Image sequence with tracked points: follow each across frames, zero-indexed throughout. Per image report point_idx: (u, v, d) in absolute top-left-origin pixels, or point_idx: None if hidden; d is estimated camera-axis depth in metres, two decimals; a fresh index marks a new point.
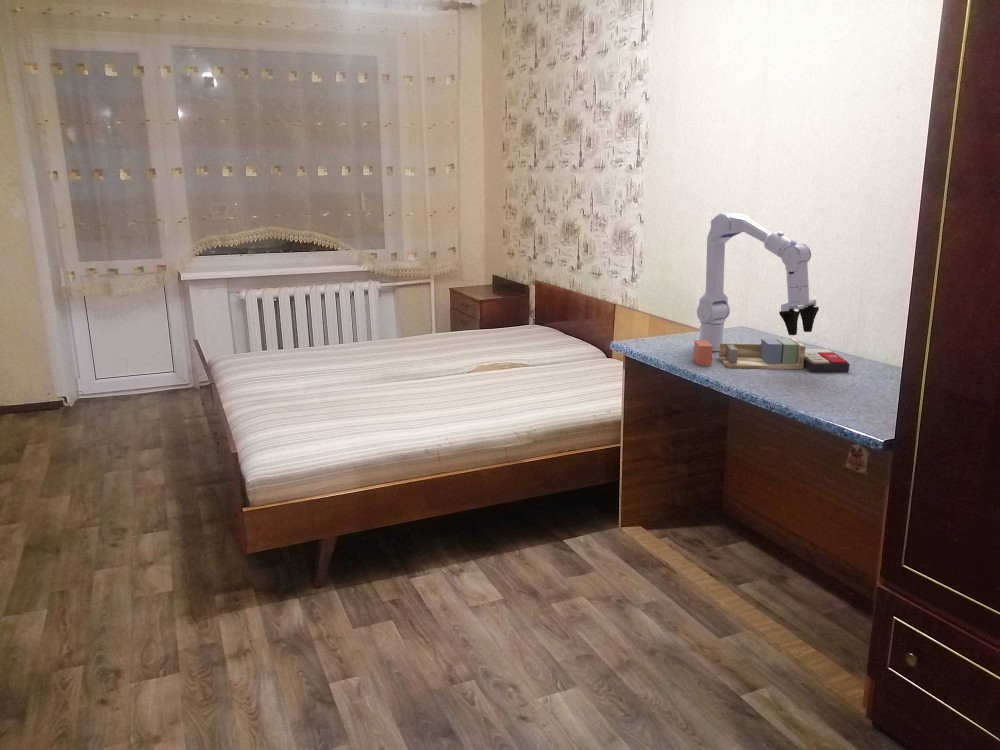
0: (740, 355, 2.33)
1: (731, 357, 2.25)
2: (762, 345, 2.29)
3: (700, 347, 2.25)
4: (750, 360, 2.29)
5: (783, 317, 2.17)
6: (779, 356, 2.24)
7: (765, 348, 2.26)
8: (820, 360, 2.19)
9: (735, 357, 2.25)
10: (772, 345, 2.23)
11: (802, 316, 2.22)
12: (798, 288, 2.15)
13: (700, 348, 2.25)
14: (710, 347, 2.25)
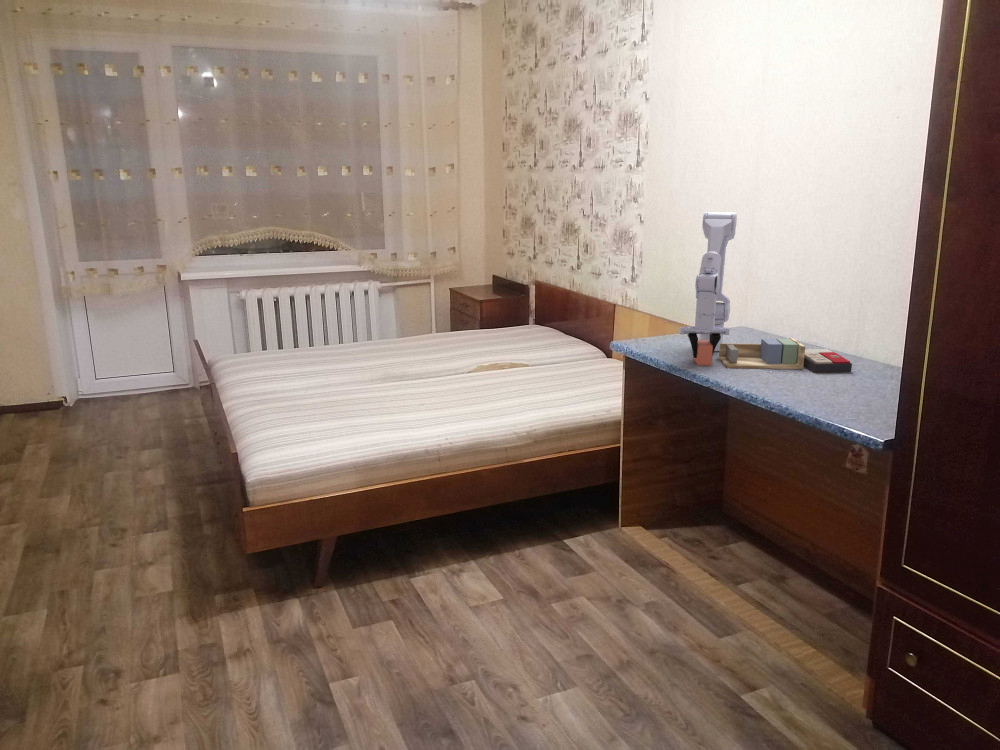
0: (740, 355, 2.33)
1: (731, 357, 2.25)
2: (762, 345, 2.29)
3: (700, 347, 2.25)
4: (750, 360, 2.29)
5: (689, 339, 2.30)
6: (779, 356, 2.24)
7: (765, 348, 2.26)
8: (823, 360, 2.18)
9: (735, 357, 2.25)
10: (772, 345, 2.23)
11: (709, 341, 2.30)
12: (698, 315, 2.25)
13: (700, 348, 2.25)
14: (710, 347, 2.25)
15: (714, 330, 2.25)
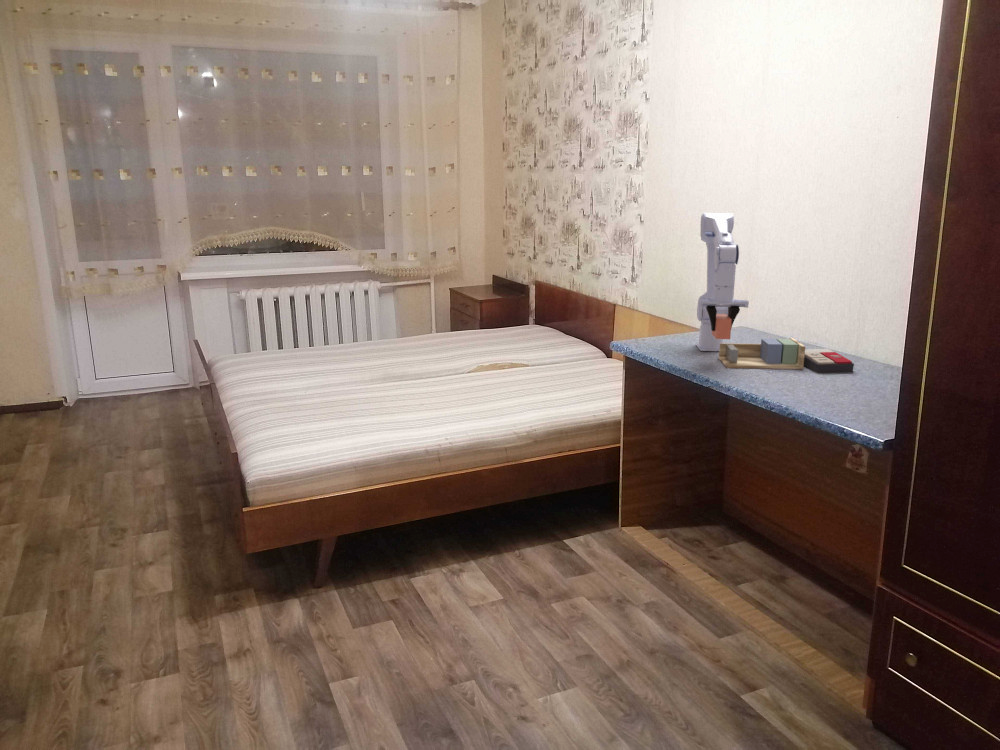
0: (740, 355, 2.33)
1: (731, 357, 2.25)
2: (762, 345, 2.29)
3: (719, 320, 2.22)
4: (750, 360, 2.29)
5: (707, 312, 2.28)
6: (779, 356, 2.24)
7: (765, 348, 2.26)
8: (825, 360, 2.18)
9: (735, 357, 2.25)
10: (772, 345, 2.23)
11: (728, 314, 2.27)
12: (717, 287, 2.22)
13: (719, 321, 2.22)
14: (729, 320, 2.22)
15: (733, 302, 2.23)
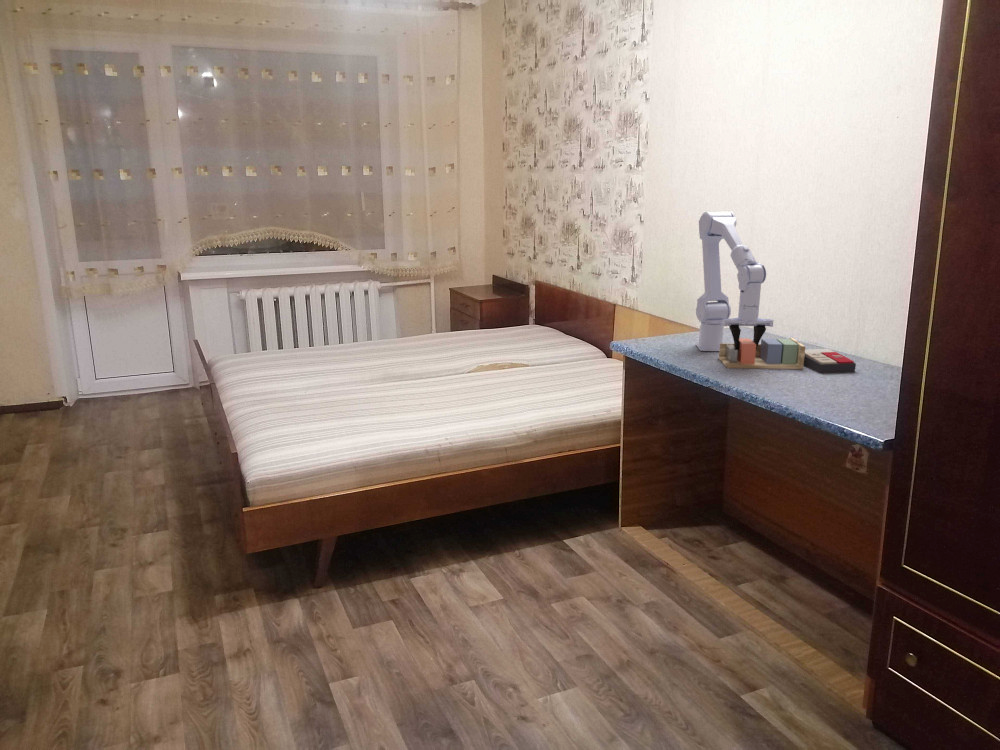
0: None
1: (731, 357, 2.25)
2: (762, 345, 2.29)
3: (743, 345, 2.23)
4: None
5: (731, 331, 2.28)
6: (779, 356, 2.24)
7: (765, 348, 2.26)
8: (827, 360, 2.18)
9: (735, 357, 2.25)
10: (772, 345, 2.23)
11: (754, 333, 2.28)
12: (742, 307, 2.23)
13: (743, 346, 2.24)
14: (754, 345, 2.23)
15: (758, 322, 2.23)
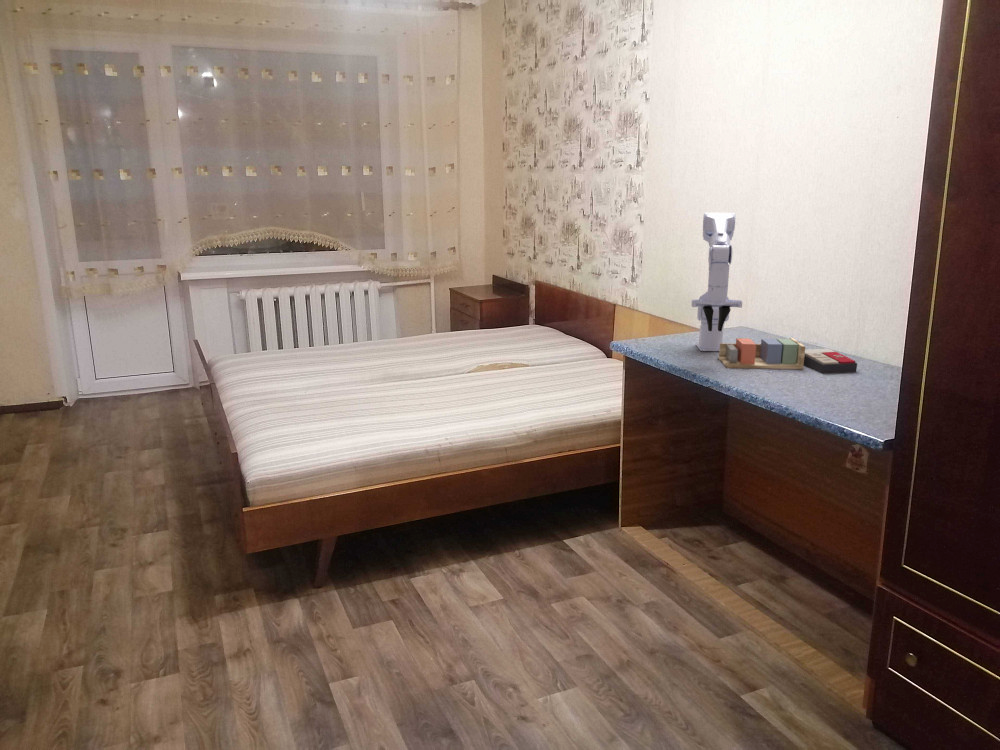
0: None
1: (731, 357, 2.25)
2: (762, 345, 2.29)
3: (743, 345, 2.23)
4: None
5: (704, 312, 2.27)
6: (779, 356, 2.24)
7: (765, 348, 2.26)
8: (829, 360, 2.18)
9: (735, 357, 2.25)
10: (772, 345, 2.23)
11: (719, 314, 2.27)
12: (711, 287, 2.22)
13: (743, 346, 2.24)
14: (754, 345, 2.23)
15: (727, 302, 2.22)
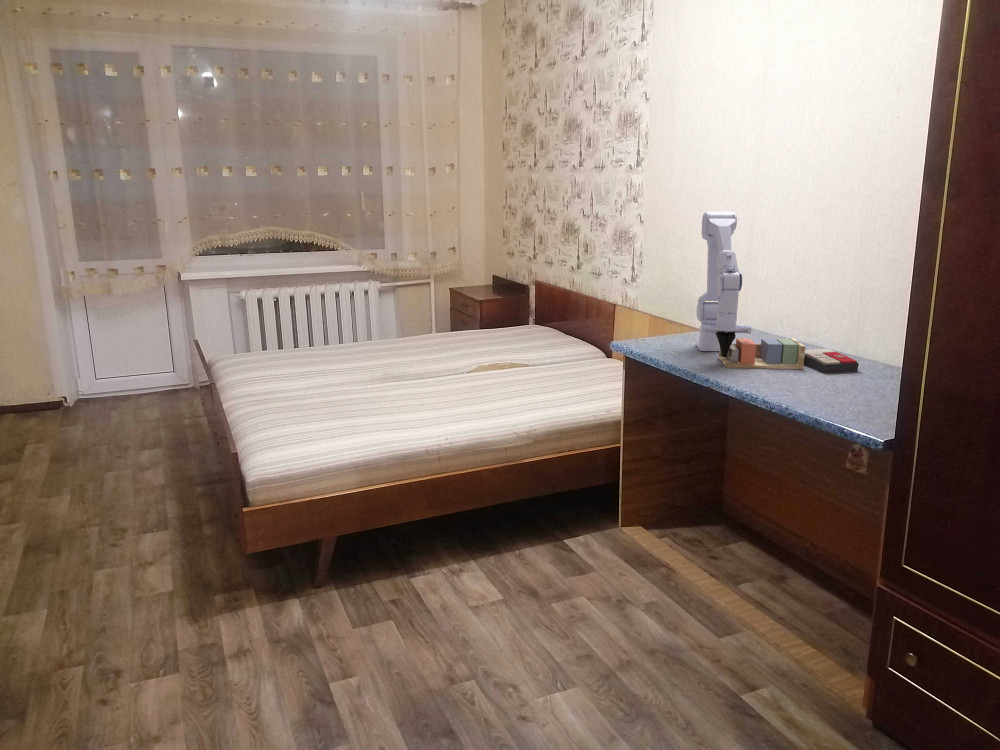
0: None
1: (732, 357, 2.25)
2: (762, 345, 2.29)
3: (743, 345, 2.23)
4: None
5: (717, 337, 2.29)
6: (779, 356, 2.24)
7: (765, 348, 2.26)
8: (831, 360, 2.18)
9: (736, 357, 2.25)
10: (772, 345, 2.23)
11: None
12: (720, 314, 2.24)
13: (743, 346, 2.24)
14: (754, 345, 2.23)
15: (736, 329, 2.24)
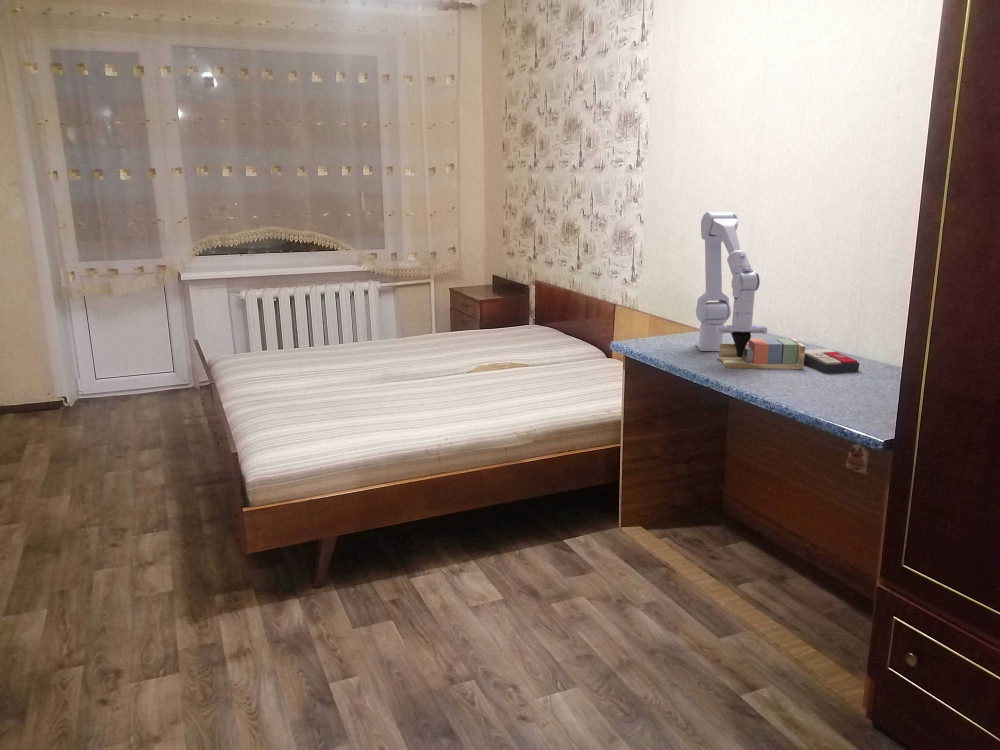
0: None
1: (747, 357, 2.25)
2: None
3: (756, 345, 2.23)
4: None
5: (733, 338, 2.29)
6: (779, 356, 2.24)
7: None
8: (832, 360, 2.18)
9: (751, 357, 2.25)
10: (772, 345, 2.23)
11: None
12: (736, 314, 2.24)
13: (756, 346, 2.23)
14: (766, 345, 2.23)
15: (752, 329, 2.24)
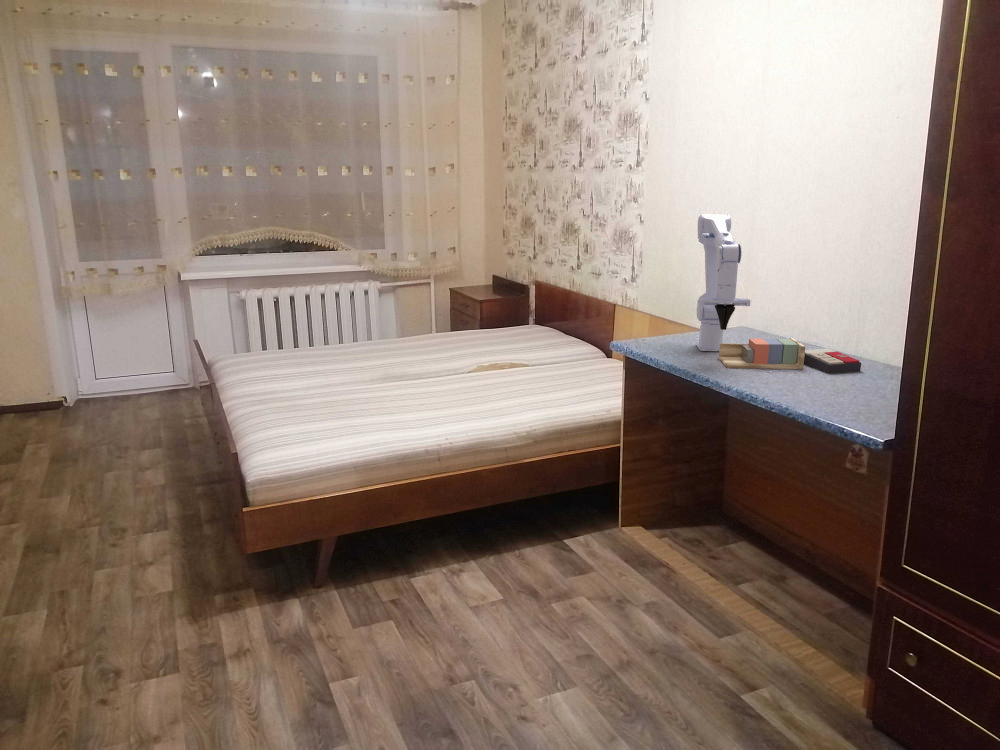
0: (740, 355, 2.33)
1: (747, 357, 2.25)
2: None
3: (757, 345, 2.23)
4: None
5: (716, 310, 2.30)
6: (780, 356, 2.24)
7: None
8: (834, 360, 2.18)
9: (751, 357, 2.25)
10: (773, 345, 2.23)
11: None
12: (719, 286, 2.24)
13: (757, 346, 2.23)
14: (767, 345, 2.23)
15: (735, 301, 2.25)
